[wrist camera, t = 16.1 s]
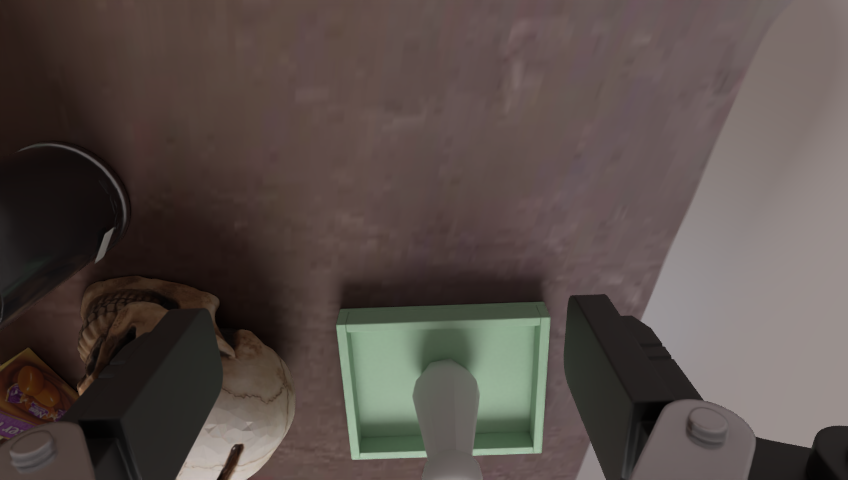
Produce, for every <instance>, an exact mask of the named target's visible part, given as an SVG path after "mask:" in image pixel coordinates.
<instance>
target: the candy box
mask: <svg viewBox="0 0 848 480" xmlns="http://www.w3.org/2000/svg"><path fill="white" fill-rule="evenodd" d="M79 397H80V396H79V394H78V393H77V392H76V391H75V390H74V389H72V388H71V387H70V386H69V385H68V384H67V383H66V382H65V381H64V380H63V379H61V378H60V377H59V376H58V375H57V374H56V373H55V372H54V371H53V370H52V369H51V368H50V367H49V366H47V365H46V364H45V363H44V362H43V361H42V360H41V359H40V358H39V357H38V356H37V355H36V354H35V353H34V352H33V351H32V350H31V349H30V348H27V349H25V350H24V351H22V352H21V353H19V354H18V355H16V356H15V357H13V358H12V359H10V360H9V361H7V362H6V363H4V364H3V365H1V366H0V445H1V444H3V443H4V442H5V441H7V440H8V439H10V438H12V437H13V436H15V435H17V434H19V433H21V432H23V431H25V430H27V429H29V428H32V427H35V426H38V425H41V424H45V423H50V422H56V421H59V420H60V418H61V417H62V416H63V415H64V414H65V413H66V412H67V410H68V409H69V408H70V407H71V406H72V405H73V404H74V402H75V401H76V400H77V399H78V398H79Z"/></svg>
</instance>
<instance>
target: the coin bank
mask: <svg viewBox="0 0 848 480" xmlns="http://www.w3.org/2000/svg"><path fill="white" fill-rule="evenodd" d="M218 307H219V299H218V298H217V297H216V296H214V295H212V294H210V293H208V292H203V291H199V290H197V289H195V288H193V287H189V286H187V285H184V284H179V283H174V282H168V281H164V280H160V279H147V278H143V277H140V276H138V275H136V276H128V277H120V278H115V279H108V280H106V281H104V282H103V281H98V282H96V283H94V284H92V285H90V286H89V287H88V288H87V289H86V291H85V293H84V296H83V300H82V304H81V310H80V315H81V318H82V321H83V325H82V329H81V330H80V332H79V339H78V348H77V349H78V350H79V352H80V357H81V359H82V360H83V362H84V363H85V364H86V367H85V369H86V375H85V376H84V377H83V378H82V379H81V380H80V381H79V383H78V384H77V389H78V392H79V396H81V394H82V393H83V392H84V391H85V390H86V389H87V388H88V387H89V385H90V384H91V383H92V382H93V381H94V380H95V379H98V377H99V376H98V375H99V374H100V373H101V372H102V371H103V369H104V368H105V367H106V366H107V365H110V361H111V360H112V359H113V358H114V357H115V356H116V355H117V353H118V352H119V351H120V350H121V349H122V348H123V347H124V346H125V345H127V344H128V343H130V342H131V341H133V340H134V339H136V338H137V337H139V336H140V335H142V334H143V333H145V332H151V331H152V330H153V328H154V327H155V326H156V325H157V324H158V322H159V321H160V320H161V319H162V318H163V316H164V315H165V314H166V313H167V312H168V311H169V310H171V309H190V308H206V309H208V311H209V312H210V314H211V317H212V321H213V325H214V330H215V334H216V339H217V343H218V348H219V352H220V357H221V361H222V366H223V383H222V388H221V392H220V394H219V397H218V398H217V400H216V402H215V404H214V406H213V408H212V410H211V412H210V414H209V416H208V418H207V420H206V422H205V424H204V425H203V427H202V429H201V431H200V433H199V435H198V437H197V439H196V441H195V443H194V445H193V447H192V449H191V451H190V453H189V454H188V456H187V458H186V460H185V462H184V464H183V466H182V468H181V470H180V472H179V474H178V476H177V478H176V480H246V479H248V478H249V477H251V476H252V475H253V474H254V473H256V472H257V471H258V470H259V469H260V468H261V467H262V466H263V465H264V464H265V463H266V462H267V461H268V460H269V459H270V457H271V455H272V454H273V452H274V451H275V450H276V448H277V447H278V446H279V444H280V443H281V441H282V440H283V438H284V436H285V435H286V433H287V431H288V430H289V427H290V425H291V423H292V420H293V418H294V413H295V399H296V394H295V388H294V384H293V380H292V377H291V373H290V370H289V369H288V367H287V365H286V364H285V362H284V361H283V360H282V359H281V358H280V357H279V356H278V354H277V353H276V352H275V351H274V350H273V349H271V348H270V347H268V346H266V345H264V344H263V343H262V342H261V341H260V340H259V339H258V338H257V337H256V336H255V335H254V334H253V333H252V332H251V331H248V330H243V329H240V330H235V329H233V328H224V329H221V328H219V327H217V325H216V323H215V312H216V311H217V309H218Z"/></svg>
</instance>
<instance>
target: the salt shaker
mask: <svg viewBox="0 0 848 480" xmlns="http://www.w3.org/2000/svg"><path fill="white" fill-rule="evenodd" d="M412 398H413V402H414V406H415V410H416V414H417V418H418V422H419V426H420V430H421V434H422V438H423V442H424V446H425V450H426V454H427V458H428V461H427V462H426V464H425V467H424V470H423V474H422V480H483V477H482V473H481V469H480V465H479V463H478V462H477V461H476V460H475V459H474V458H473V457H472V455H473V446H474V439H475V431H476V423H477V415H478V407H479V399H480V392H479V388H478V384H477V381H476V379H475V378H474V376H473V375H472V374H471V373H470V372H469V371H468V370H467V369H466V368H465V367H463V366H461V365H460V364H458V363H457V362H455V361H453V360H452V359H450V358H449V359H444V360H440V361H435V362H431V363H430V364H429V365H428V367H427V368H426V370H425V371H424V372H423V373H422V374H421V376H420V377H419V378H418V379H417V380H416V383H415V387H414V391H413V395H412Z"/></svg>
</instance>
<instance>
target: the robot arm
mask: <svg viewBox="0 0 848 480" xmlns="http://www.w3.org/2000/svg"><path fill="white" fill-rule="evenodd" d="M129 221H130V203H129V199H128V196H127V193H126V190H125V188H124V186H123V184H122V182H121V181H120V179H119V178H118V176H117V175H116V174H115V172H114V171H113V170H112V169H111V168H110V167H109V166H108V165H107V164H106V163H105V162H104V161H103V160H101V159H100V158H99V157H97V156H96V155H95V154H93V153H91V152H89V151H88V150H86V149H83V148H81V147H79V146H76V145H73V144H69V143H64V142H55V141H50V142H41V143H37V144H34V145H31V146H28V147H25V148H23V149H21V150H19V151H17V152H16V153H13V154H10V155H7V156H4V157H1V158H0V331H2V330H3V329H4V328H5V327H7V326H8V325H9V324H11V323H12V322H13V321H15V320H16V319H17V318H19V317H20V316H21V315H22V314H24V313H25V312H26V311H28V310H29V309H30V308H32V307H33V306H34V305H35V304H37V303H38V302H39V301H41V300H42V299H43V298H45V297H46V296H47V295H48V294H50V293H51V292H52V291H54V290H55V289H56V288H58V287H59V286H60V285H62V284H63V283H64V282H65V281H67V280H68V279H69V278H71V277H72V276H73V275H75V274H76V273H77V272H78V271H80V270H81V269H82V268H84V267H85V266H86V265H88V264H89V263H90V262H92V261H93V260H94V259H96V261H95V263H96V262H98V261H99V260H100V259H101V258H103V257H104V255H105V252H107V251H108V250H110V249H111V248H112V247H114V246H115V245H116V244H117V243H118V242H119V241H120V240H121V239H122V237H123V236H124V235H125V233H126V231H127V228H128V225H129ZM564 369H565V376H566V380H567V383H568V386H569V388H570V391H571V393H572V396H573V398H574V401H575V403H576V406H577V408H578V411H579V413H580V416H581V418H582V421H583V423H584V426H585V428H586V431H587V433H588V436H589V438H590V441H591V443H592V446H593V448H594V451H595V453H596V456H597V458H598V461H599V463H600V466H601V468H602V470H603V473H604V476H605V478H606V480H848V426H831V427H827V428H824V429H822V430H820V431H819V432H818V433H817V435H816V437H815V439H814V442H813V445H812V448H807V447H802V446H797V445H791V444H786V443H780V442H775V441H770V440H766V439H762V438H758V437H755V435H754V432H753V430H752V429H751V428H750V426H749V425H748V424H747V423H746V422H745V421H744V420H743V419H742V418H741V417H739V416H738V415H737V414H735V413H734V412H732V411H730V410H728V409H726V408H724V407H722V406H720V405H717V404H714V403H711V402H708V401H704V400H703V399H702V398H701V396H700V395H699V393H698V392H697V391H696V389H695V388H694V387H693V385H692V384H691V382H690V381H689V380H688V378H687V377H686V375H685V374H684V373H683V371H682V370H681V369H680V367H679V366H678V365H677V363H676V362H675V361H674V359H671V355H670V354H669V352H668V351H667V350H666V348H665V347H662V343H661V341H660V340H659V339H658V337H657V336H656V335H655V333H654V332H653V331H652V329H651V328H650V327H648V326H646V325H645V324H644V323H642V322H641V321H639V320H638V319H636V318H635V317H633V316H620V314H619V313H618V311H617V310H616V308H615V307H614V305H613V304H612V302H611V301H610V299H609V298H608V297H607V295H605V294H599V295H572V296H570V298H569V301H568V308H567V321H566V333H565V346H564ZM98 376H99V377H98V379H95V380H94V381H93V382H92V383H91V384H90V385H89V387H88V388H87V389H86V390H85V391H84V392H83V393H82V394H81V396H80V397H79V398H78V399H77V400H76V401H75V402H74V404H73V405H72V406H71V407H70V408H69V409H68V410H67V412H66V413H65V414H64V415H63V416H62V417H61V418H60V420H59V421H56V422H50V423H45V424H41V425H38V426H35V427H32V428H29V429H27V430H25V431H23V432H21V433H19V434H17V435H15V436H13V437H12V438H10V439H8V440H7V441H5V442H4V443H3V444H1V445H0V480H176V478H177V476H178V474H179V472H180V470H181V468H182V466H183V464H184V462H185V460H186V458H187V456H188V454H189V453H190V451H191V449H192V447H193V445H194V443H195V441H196V439H197V437H198V435H199V433H200V431H201V429H202V427H203V425H204V424H205V422H206V420H207V418H208V416H209V414H210V412H211V410H212V408H213V406H214V404H215V402H216V400H217V398H218V397H219V394H220V392H221V388H222V383H223V366H222V361H221V357H220V352H219V348H218V343H217V339H216V334H215V330H214V325H213V321H212V317H211V314H210V312H209V311H208V309H206V308H190V309H171V310H169V311H168V312H167V313H166V314H165V315H164V316H163V318H162V319H161V320H160V321H159V322H158V324H157V325H156V326H155V327H154V328H153V330H152V331H151V332H145V333H143V334H142V335H140V336H139V337H137V338H136V339H134V340H133V341H131V342H130V343H128V344H127V345H125V346H124V347H123V348H122V349H121V350H120V351H119V352H118V353H117V355H116V356H115V357H114V358H113V359H112V360H111V361H110V365H107V366H106V367H105V368H104V369H103V371H102V372H101V373H100V374H99V375H98Z"/></svg>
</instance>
